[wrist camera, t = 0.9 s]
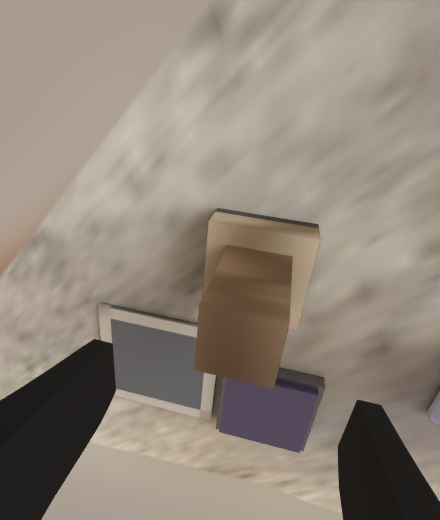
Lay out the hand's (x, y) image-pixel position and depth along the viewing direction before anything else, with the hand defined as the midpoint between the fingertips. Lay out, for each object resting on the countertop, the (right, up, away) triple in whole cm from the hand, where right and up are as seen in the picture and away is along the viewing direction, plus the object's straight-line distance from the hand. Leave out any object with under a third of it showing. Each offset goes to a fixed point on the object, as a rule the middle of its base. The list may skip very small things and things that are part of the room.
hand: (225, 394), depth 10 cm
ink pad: (+3, -5, +12) cm, 14 cm away
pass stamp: (+2, +4, +8) cm, 9 cm away
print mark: (-4, -3, +13) cm, 14 cm away
